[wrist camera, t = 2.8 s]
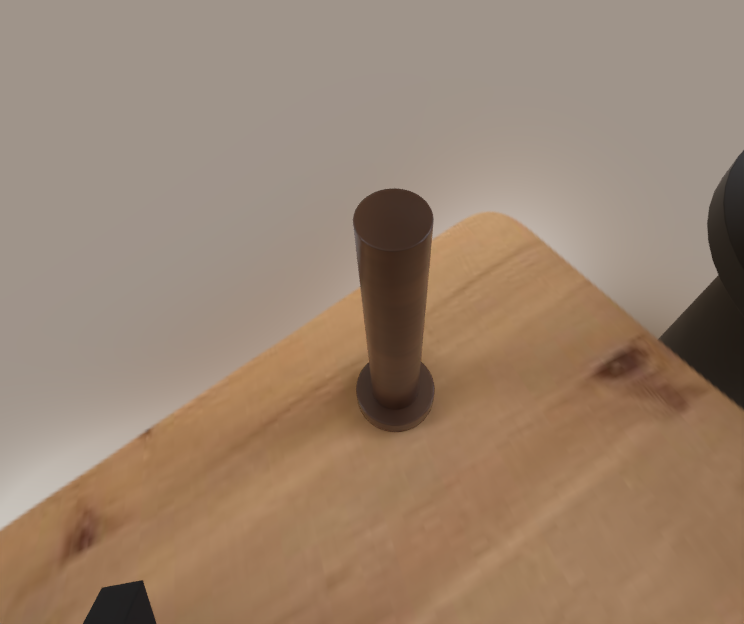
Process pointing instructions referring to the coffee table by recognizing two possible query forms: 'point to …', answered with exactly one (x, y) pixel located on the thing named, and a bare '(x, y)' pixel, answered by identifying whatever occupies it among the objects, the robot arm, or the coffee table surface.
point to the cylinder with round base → (394, 307)
